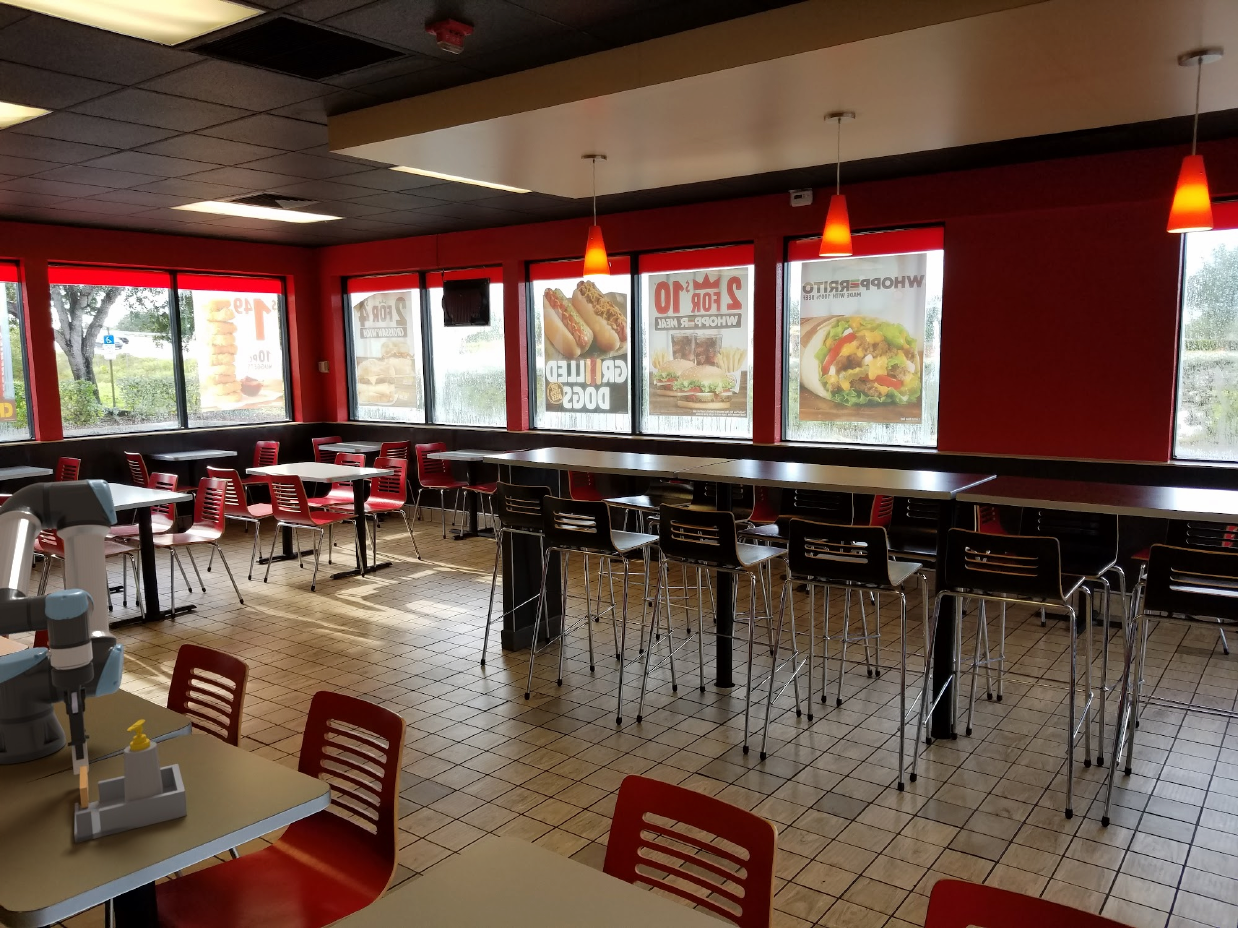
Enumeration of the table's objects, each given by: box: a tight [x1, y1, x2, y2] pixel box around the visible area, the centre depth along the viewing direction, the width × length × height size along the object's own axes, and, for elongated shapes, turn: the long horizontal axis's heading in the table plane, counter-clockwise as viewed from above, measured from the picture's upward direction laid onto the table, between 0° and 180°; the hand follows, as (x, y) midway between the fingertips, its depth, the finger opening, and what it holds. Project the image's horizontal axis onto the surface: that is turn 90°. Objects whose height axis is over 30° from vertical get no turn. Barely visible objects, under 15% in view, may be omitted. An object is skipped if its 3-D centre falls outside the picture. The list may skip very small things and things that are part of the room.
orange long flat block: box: [79, 766, 90, 808], centre depth 179 cm, size 12×1×4 cm, turn 31°
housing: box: [73, 763, 188, 844], centre depth 174 cm, size 15×19×5 cm
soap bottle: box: [123, 718, 164, 803], centre depth 172 cm, size 7×7×18 cm
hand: (81, 771), depth 187 cm, fingers closed
